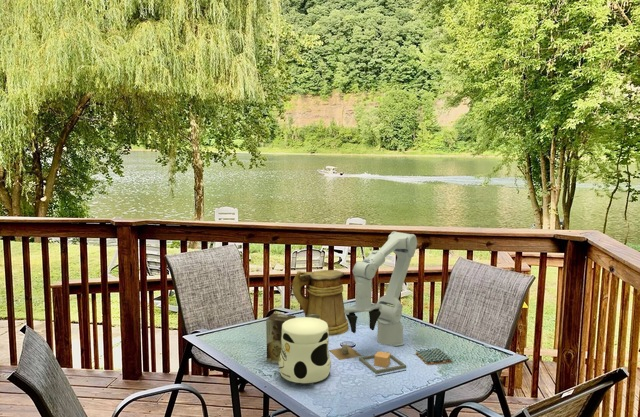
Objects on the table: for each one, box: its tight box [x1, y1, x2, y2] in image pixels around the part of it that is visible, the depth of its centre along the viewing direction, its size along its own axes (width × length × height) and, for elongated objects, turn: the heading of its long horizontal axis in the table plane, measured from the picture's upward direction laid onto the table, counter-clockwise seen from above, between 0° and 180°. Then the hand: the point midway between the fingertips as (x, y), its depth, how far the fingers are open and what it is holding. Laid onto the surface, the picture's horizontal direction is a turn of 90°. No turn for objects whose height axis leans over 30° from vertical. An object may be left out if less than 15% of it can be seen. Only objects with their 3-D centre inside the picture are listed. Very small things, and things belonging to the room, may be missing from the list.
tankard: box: [291, 269, 350, 337], centre depth 211 cm, size 18×24×25 cm
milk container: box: [278, 316, 332, 386], centre depth 169 cm, size 17×17×18 cm
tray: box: [358, 351, 407, 377], centre depth 179 cm, size 12×12×2 cm
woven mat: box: [414, 348, 453, 366], centre depth 186 cm, size 10×11×2 cm
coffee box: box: [265, 313, 297, 365], centre depth 182 cm, size 9×6×16 cm
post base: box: [328, 344, 362, 361], centre depth 187 cm, size 9×9×4 cm
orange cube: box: [373, 350, 391, 368], centre depth 179 cm, size 4×4×4 cm
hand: (362, 330), depth 187 cm, fingers open, 7 cm apart
